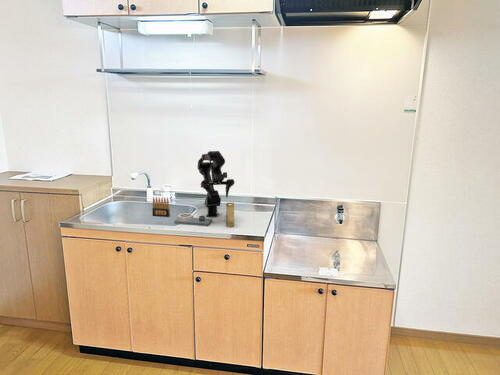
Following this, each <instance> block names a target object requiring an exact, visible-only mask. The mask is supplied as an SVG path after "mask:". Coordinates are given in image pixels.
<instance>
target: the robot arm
mask: <svg viewBox="0 0 500 375" xmlns="http://www.w3.org/2000/svg"><path fill="white" fill-rule="evenodd" d="M205 161H207V162H205ZM225 163H226V159H225V157H224V156H223V154H221V152H220V151H219V150H212V151H211V150H209V151H208V152H207V153H202V154H201V157H200V159H199V160H198V161H197V170H198V172H199V174H201V175H202V177H203V179H202V181H201V182H200V188H202V189H203V190H205V191H206V197H205V200H204V206H205V207H206V208H207V214H206V215H205V217H209V218H210V217H212V218H216V217H218V215H219V213H218V207H220V206H221V202H222V201H221V200H222V198H221V196H220V194H219V191H218V190H216V189H215V187H214V186H223V185H224V186H225V197H226V198H228V197H229V193H230V192H229V191H230V188H232V187H233V186H234V185H235V180H234V179H232V178H228V172H225V171H224V172H222V168H223V167H224V165H225ZM225 179H226V181H224V180H225Z"/></svg>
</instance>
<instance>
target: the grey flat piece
mask: <svg viewBox="0 0 500 375" xmlns="http://www.w3.org/2000/svg"><path fill="white" fill-rule="evenodd" d="M212 222H213V218H210V217H209V218H207V217H206V215H199V216H198V217H194V215H193V214H192V213H187V212H184V213H179V214H178V215H177V218H176V219H174V222H173V223H174V224H175V225H188V226H189V225H190V226H201V227H202V226H204V227H209V226H210V225H211V224H212Z"/></svg>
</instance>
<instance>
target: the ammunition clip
mask: <svg viewBox="0 0 500 375" xmlns="http://www.w3.org/2000/svg"><path fill="white" fill-rule="evenodd" d="M170 209H171V208H170V202H169V198H168V197H164V198H163V197H159V196H158V197H157V196H156V197H155V196H153V197H152V217H160V218H161V217H162V218H170V217H171V211H170Z"/></svg>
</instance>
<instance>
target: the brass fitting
mask: <svg viewBox="0 0 500 375" xmlns="http://www.w3.org/2000/svg"><path fill="white" fill-rule="evenodd" d="M225 209H226V211H225V221H226V222H225V226H226V228H233V227H234V226H235V203H234V202H226V203H225Z"/></svg>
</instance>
